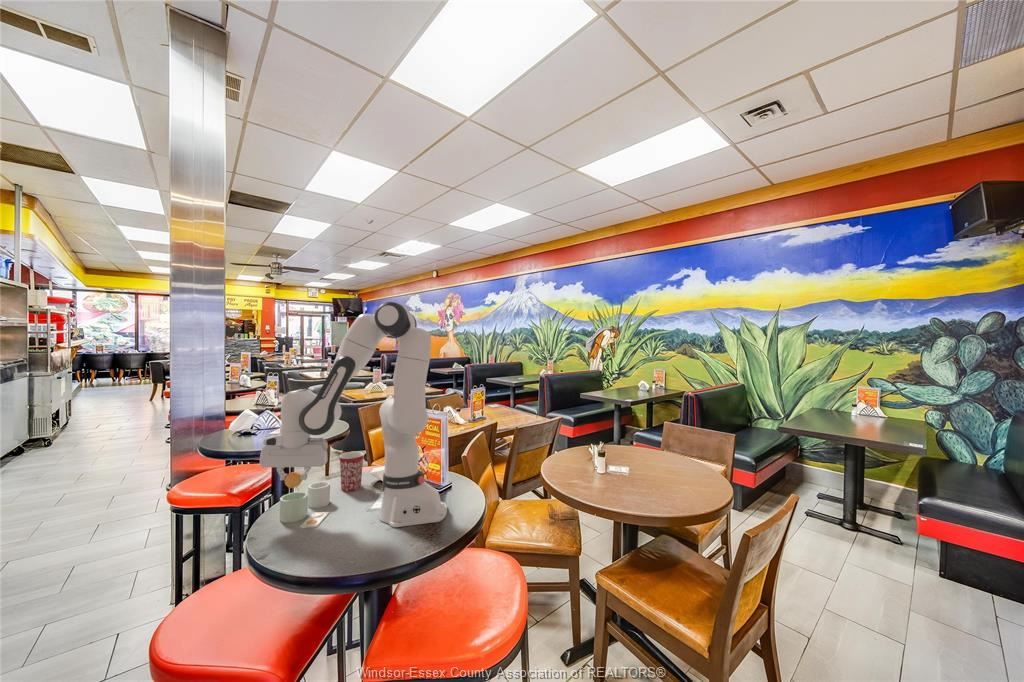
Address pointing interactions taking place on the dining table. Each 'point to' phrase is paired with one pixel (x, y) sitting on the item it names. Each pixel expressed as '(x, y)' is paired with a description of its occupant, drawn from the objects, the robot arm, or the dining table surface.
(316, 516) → the card
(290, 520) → the tube green
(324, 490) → the tube grey
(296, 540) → the dining table surface
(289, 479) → the ball orange
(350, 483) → the mug
